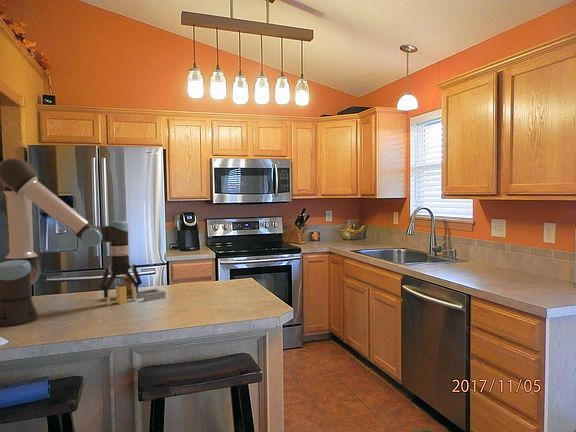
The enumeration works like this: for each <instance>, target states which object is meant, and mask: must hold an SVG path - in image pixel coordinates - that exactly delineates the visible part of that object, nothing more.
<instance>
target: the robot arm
mask: <svg viewBox="0 0 576 432" xmlns="http://www.w3.org/2000/svg"><path fill="white" fill-rule="evenodd" d="M0 183H1V184H2V192H3V193H4V194H5V196H7V211H8V213H7V215H8V241H9V243H8V245H9V253H8V254H7V255H6V256H5V258H4V259H5V261H3V262H0V327H10V326H17V325H18V326H19V325H23V324H28V323H30V322H33V321H36V320H37V319H38V316H39V315H38V310H37V308H36V305H35V304H34V301H33V299H32V297H33V295H32V286H33V285H34V284H35V283H36V282H38V280H39V278H40V276H41V266H40V264H39V258H38V254H37V253H36V252H35V251H34V232H33V231H34V225H33V204H34V205H35V206H37V207H38V208H39V209H41V210H42V211H44V212H45V213H46V214H47V215H49V216H50V217H51V218H52V219H54V220H55V221H56V222H58V223H59V224H60V225H61V226H63V227H64V228H65V229H67V230H68V231H69V232H70V233H72V234H73V235H74V236H75V237H77V238H78V239H79V240H80V242H81V243H82V244H84V245H85V246H87V247H90V248H92V247H97V246H98V245H100V244H103V243H110V254H111V257H110V258H111V259H110V262H111V266H110V267H103V272H104V273H103V275H102V277H101V278H102V279H101V281H100V283H99V284H100V285H99V287H98V289H99V290H101V291H103V297H104V298H105V300H106V305H107V306H111V296H110V295H111V292H110V290H109V289H110V287H111V285H112V283H113V282H114V281H115V279H116V278H117V277H118V276H119V277H120V276H123V275H126V276H127V277H128V278H129V279H130V281H131V282H132V283H133V286H132V294H133V298H132V301H135V302H136V301H137V297H136V293H138V291H139V286H140V285H142V284H143V282H142V280H141V277H140V275H139V273H138V270H137V265H136V264H130V255H129V252H130V251H129V248H130V247H129V227H128V226H129V225H128V224H129V223H128V222H127V221H125V220H115V221H114V220H113V221H110V222H109V225H101V226H100V225H98V226H97V225H96V226H95V225H93V224H92V223H91V222H90V221H88V220H87V218H84V217H83V216H82V215H81V214H79V213H78V212H77V211H76V210H75V209H74V208H72V207H71V206H70V205H68V204H67V203H66V202H65V201H63V200H62V199H61V198H59V197H58V196H57V195H56V194H55V193H54V192H52V191H51V190H50V189H49V188H47V187H46V186H45V185H43V184H42V183H41V182H40V181H39V179H38V172H37V170H36V168H35V167H34V165H32V163H31V162H28V161H26V160H22V159H19V158H15V157H10V158H5V159H3V160H2V161H0ZM130 269H131V270H132V273H133V275H134V276H135V278H136V279H134V278H133V277H132V276H131V275H132V274H131V273H130V272H129V270H130ZM110 272H111V275H110V276H109V273H110ZM108 277H109V278H108ZM107 279H108V280H107Z"/></svg>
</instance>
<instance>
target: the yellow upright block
mask: <svg viewBox="0 0 576 432" xmlns="http://www.w3.org/2000/svg"><path fill="white" fill-rule="evenodd" d="M115 301H116V302H115V303H117V304H119V305H124V304H128V301H127V292H126V283H124V281H121V282H116V283H115Z"/></svg>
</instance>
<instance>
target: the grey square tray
mask: <svg viewBox="0 0 576 432" xmlns="http://www.w3.org/2000/svg"><path fill="white" fill-rule="evenodd" d="M166 295H167V294H166V291H165V290H164V289H163V290H162V289H160V288H157V287H156V288H150V289H145V290H143V289H142V290H138V293H137V297H136V299H141V298H143V301H144V302H149V301H155V300H159V299H160V300H161V299H165V298H166Z"/></svg>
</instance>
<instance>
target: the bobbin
mask: <svg viewBox="0 0 576 432" xmlns="http://www.w3.org/2000/svg"><path fill="white" fill-rule="evenodd" d="M130 275H131V276H132V277H133V278H134V280H136V278H135V276H134V274H130ZM119 280H122V281H123V283H126V292H127V299H133V294H132V286H134V284H133V283H132V282H131V281H130V279H129V278H128V277H127V276H126V275H120V276H119ZM136 298H137V293H136Z"/></svg>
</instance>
